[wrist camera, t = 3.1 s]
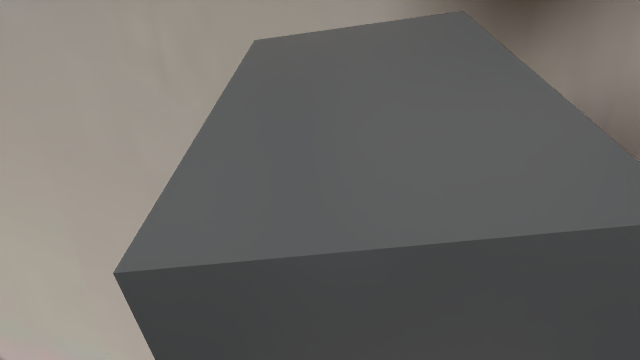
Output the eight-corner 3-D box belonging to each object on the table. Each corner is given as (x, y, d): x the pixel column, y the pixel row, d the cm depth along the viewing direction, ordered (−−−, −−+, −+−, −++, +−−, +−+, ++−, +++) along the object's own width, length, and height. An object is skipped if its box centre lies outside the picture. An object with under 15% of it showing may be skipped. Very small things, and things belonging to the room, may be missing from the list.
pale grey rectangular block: (463, 11, 8) (706, 218, 3) (459, 336, 12) (553, 670, 7) (254, 40, 8) (112, 273, 3) (319, 346, 12) (306, 669, 7)
